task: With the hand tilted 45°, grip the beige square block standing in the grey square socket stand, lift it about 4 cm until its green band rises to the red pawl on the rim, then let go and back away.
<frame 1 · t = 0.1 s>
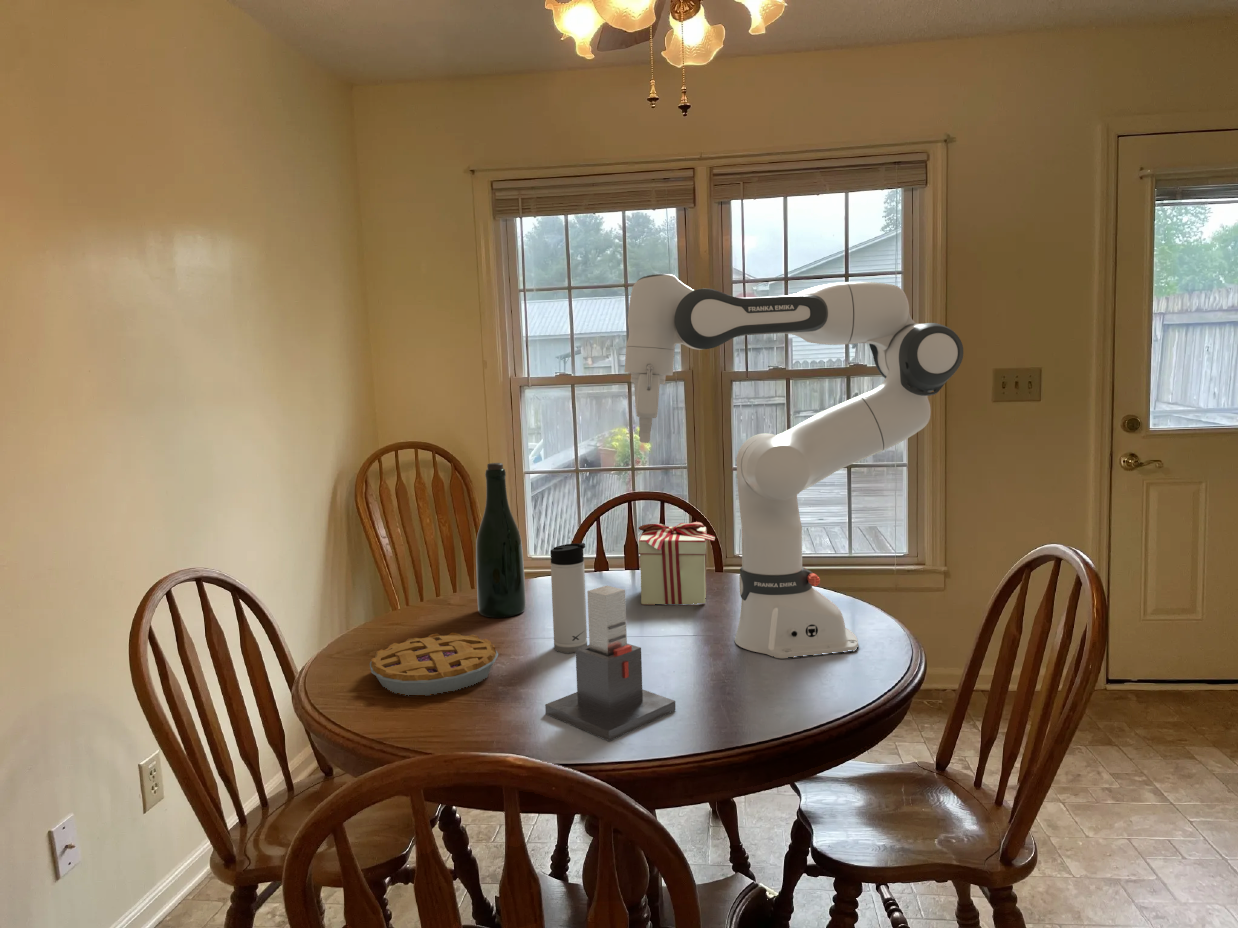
hand: (643, 440, 149), 39 cm above the table, tool pointing down, fingers open, 8 cm apart
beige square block: (608, 646, 123), point 10 cm above the table, slide at 0.0 cm
gift box: (677, 599, 185), on the table
pie: (435, 676, 142), on the table
green wine bottle: (502, 612, 179), on the table
travel mug: (571, 648, 154), on the table
grey square socket stand: (610, 711, 124), on the table
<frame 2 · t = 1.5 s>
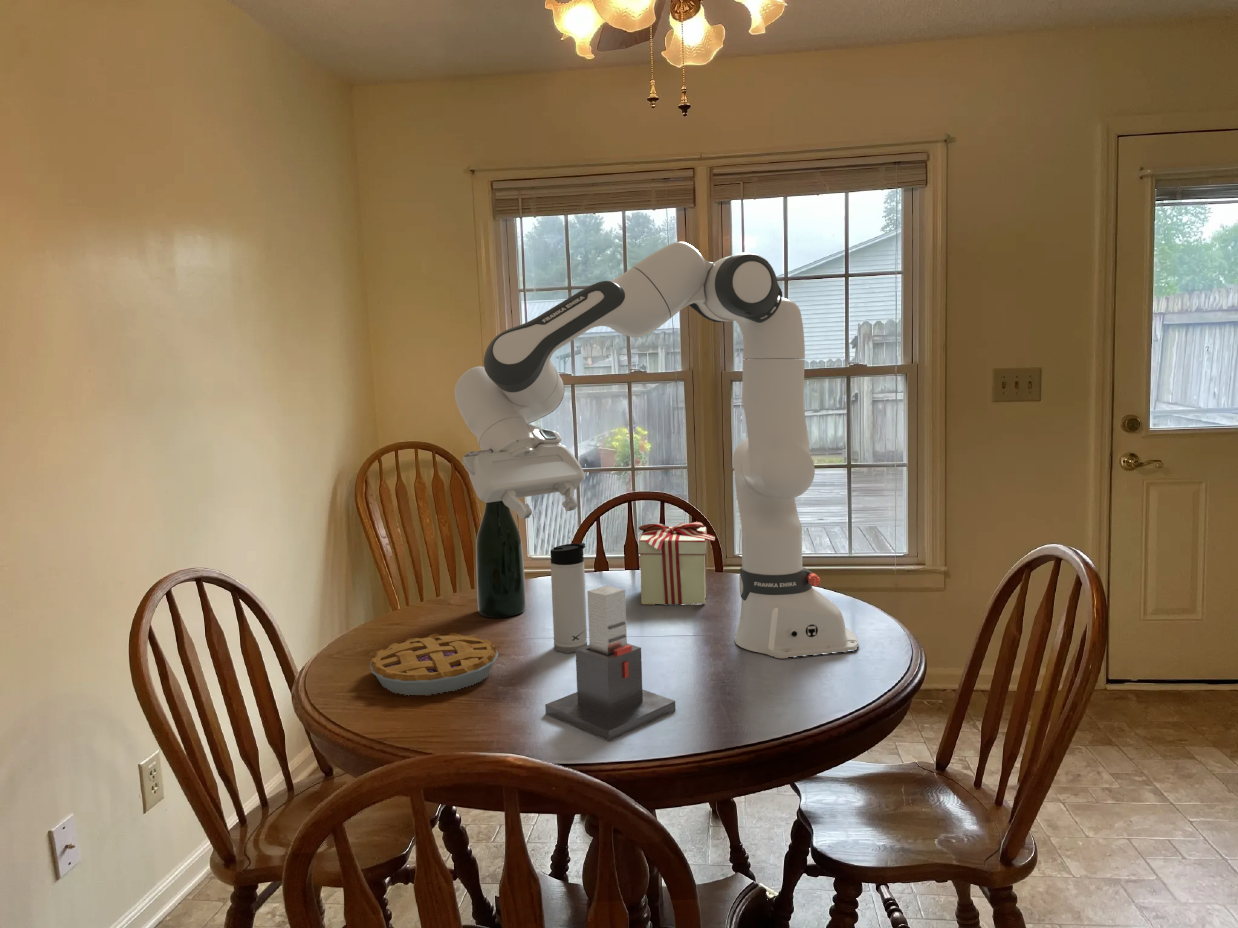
hand: (550, 512, 129), 30 cm above the table, tool tilted 45°, fingers open, 8 cm apart
nothing on the table moved.
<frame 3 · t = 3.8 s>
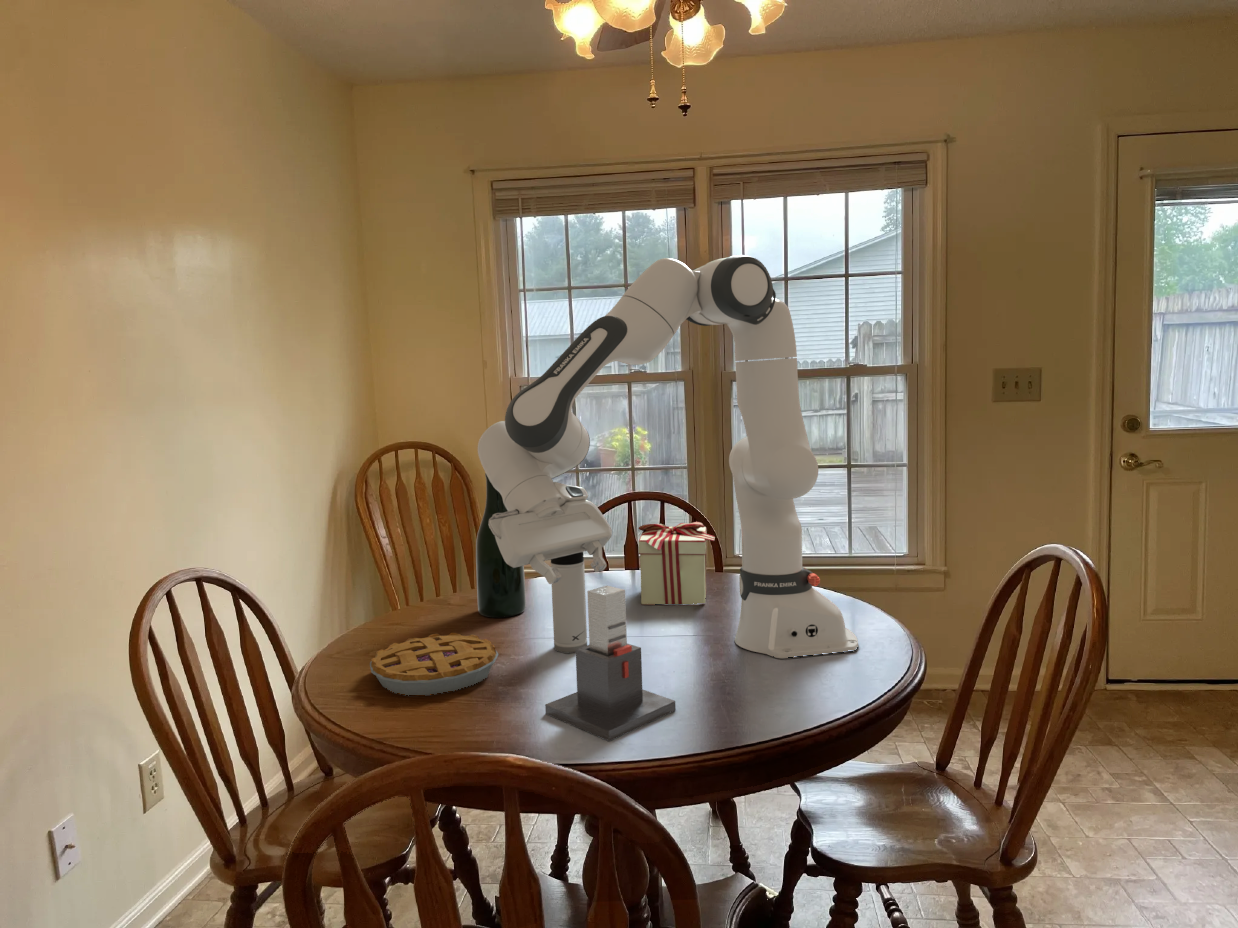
hand: (579, 575, 126), 20 cm above the table, tool tilted 45°, fingers open, 8 cm apart
nothing on the table moved.
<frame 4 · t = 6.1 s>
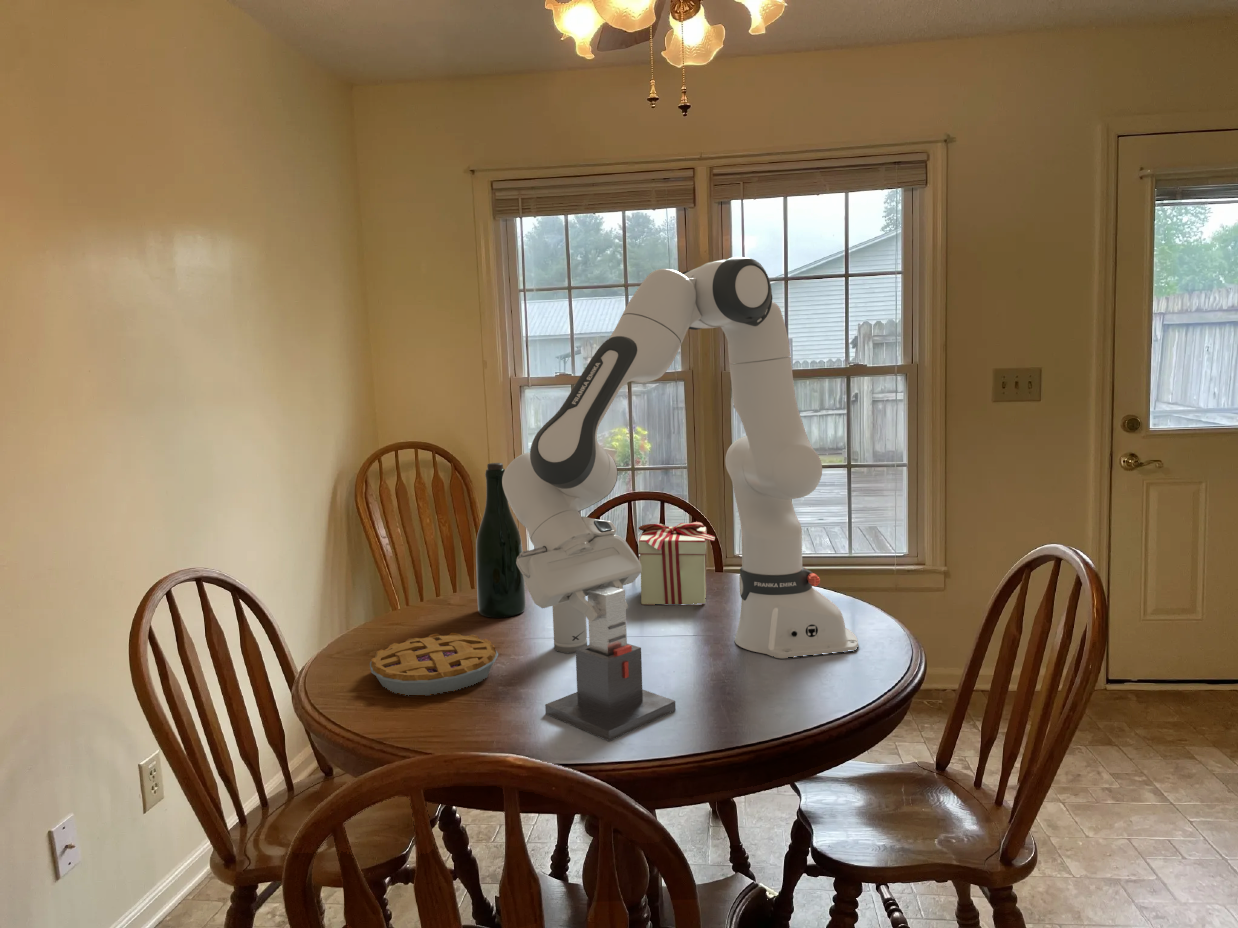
hand: (610, 614, 122), 15 cm above the table, tool tilted 45°, fingers closed on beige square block, 4 cm apart
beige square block: (608, 646, 123), point 10 cm above the table, slide at 0.0 cm, touching gripper
everything else where it was.
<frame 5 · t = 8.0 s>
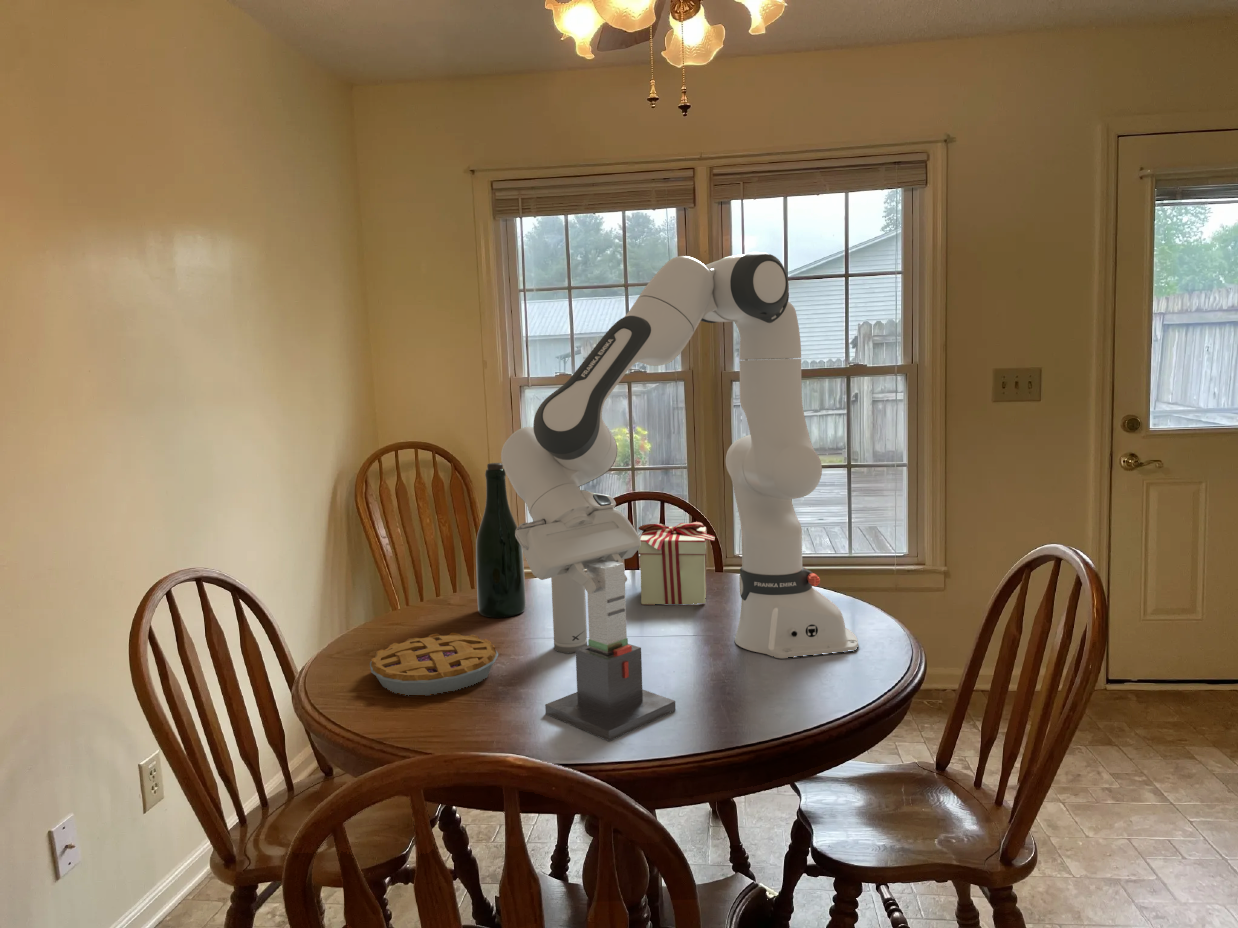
hand: (609, 587, 121), 20 cm above the table, tool tilted 45°, fingers closed on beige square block, 4 cm apart
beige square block: (607, 620, 122), point 14 cm above the table, slide at 4.0 cm, touching gripper
everything else where it was.
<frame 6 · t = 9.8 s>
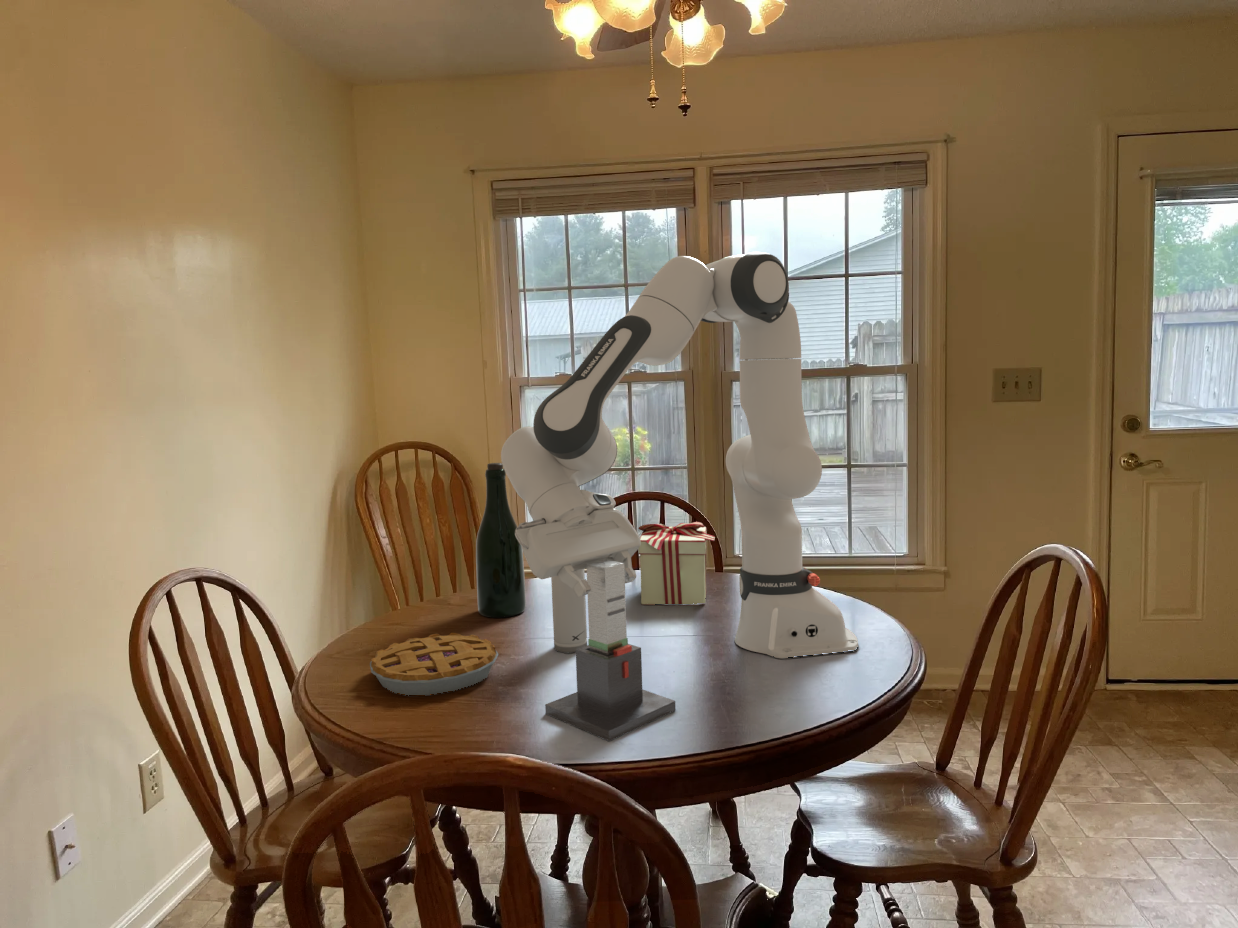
hand: (609, 586, 121), 20 cm above the table, tool tilted 45°, fingers open, 8 cm apart
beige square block: (607, 620, 122), point 14 cm above the table, slide at 4.1 cm
everything else where it was.
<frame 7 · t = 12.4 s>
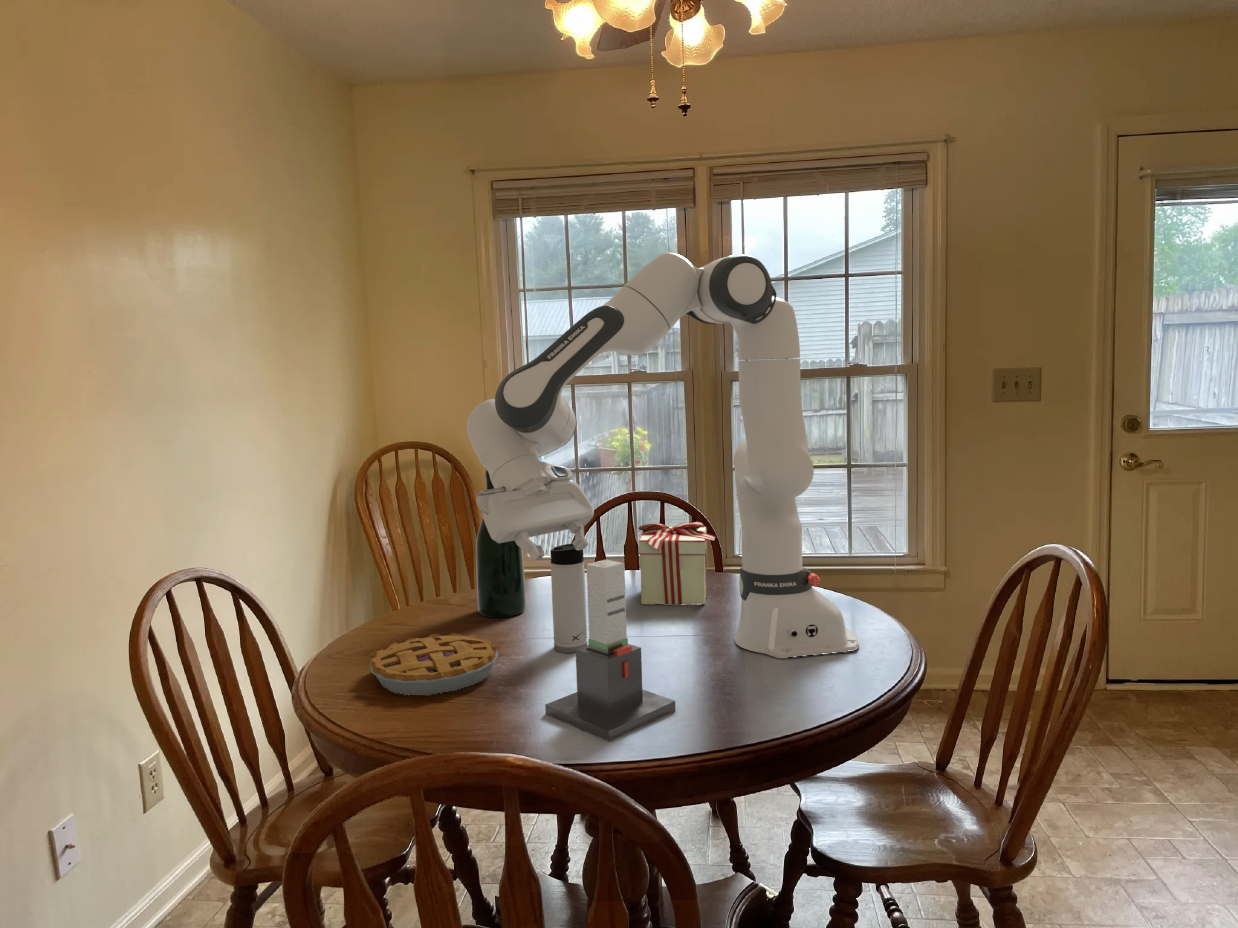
hand: (561, 552, 131), 23 cm above the table, tool tilted 40°, fingers open, 8 cm apart
nothing on the table moved.
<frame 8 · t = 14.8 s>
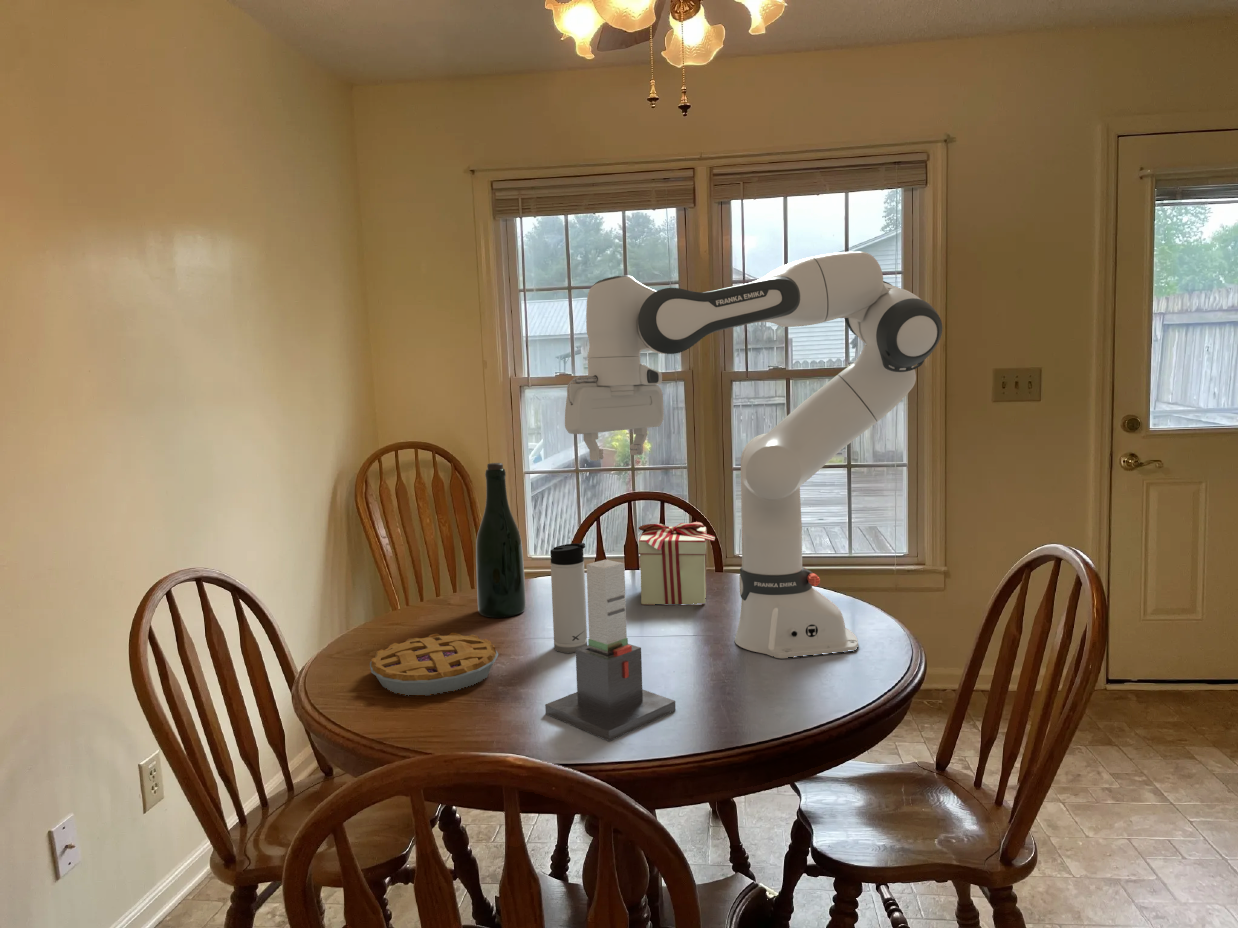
hand: (617, 457, 138), 37 cm above the table, tool pointing down, fingers open, 8 cm apart
nothing on the table moved.
at the end: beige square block slide at 4.1 cm; the gripper is holding nothing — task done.
